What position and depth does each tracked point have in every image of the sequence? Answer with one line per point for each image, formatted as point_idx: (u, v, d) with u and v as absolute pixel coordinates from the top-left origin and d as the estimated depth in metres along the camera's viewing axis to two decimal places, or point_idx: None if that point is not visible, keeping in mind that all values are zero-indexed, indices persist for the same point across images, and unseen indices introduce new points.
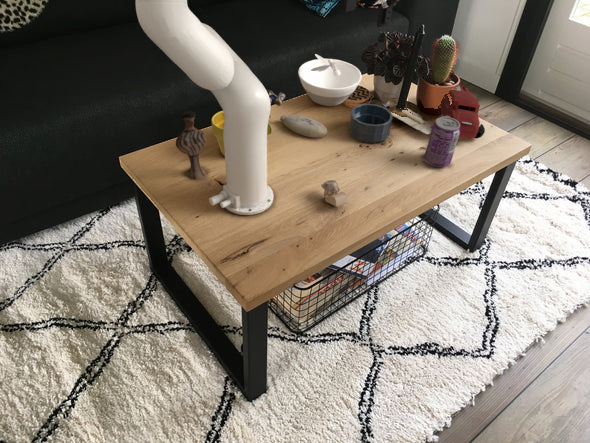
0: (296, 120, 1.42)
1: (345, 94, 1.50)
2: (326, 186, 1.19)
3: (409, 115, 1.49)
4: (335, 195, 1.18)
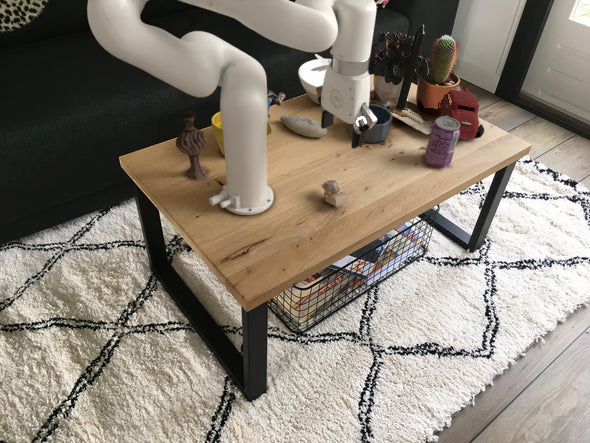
0: (296, 120, 1.42)
1: None
2: (326, 186, 1.19)
3: (409, 115, 1.49)
4: (335, 195, 1.18)
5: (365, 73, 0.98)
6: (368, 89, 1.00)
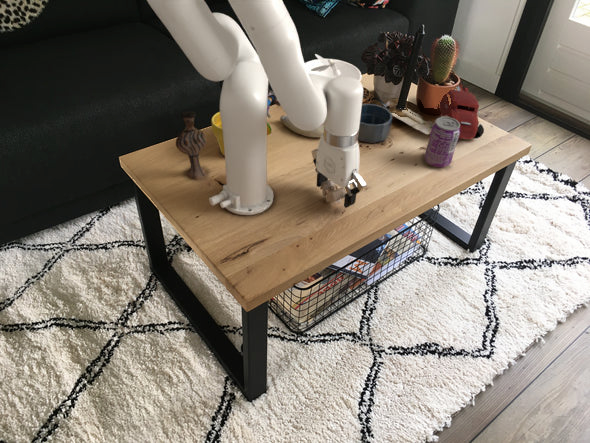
0: None
1: None
2: (323, 185, 1.20)
3: (409, 115, 1.49)
4: (332, 191, 1.18)
5: (355, 144, 1.08)
6: (358, 157, 1.10)
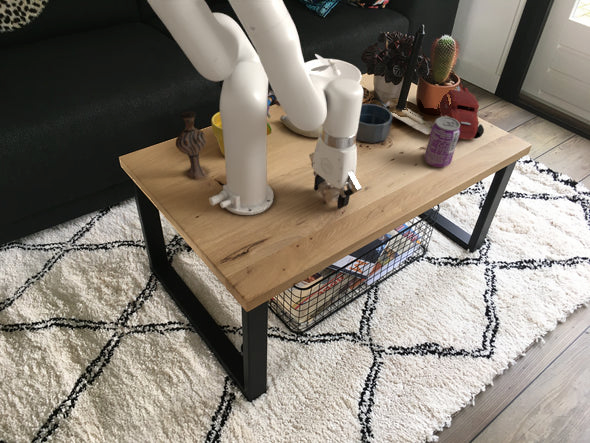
0: None
1: None
2: (319, 186, 1.20)
3: (409, 115, 1.49)
4: (329, 189, 1.18)
5: (352, 146, 1.09)
6: (355, 159, 1.10)
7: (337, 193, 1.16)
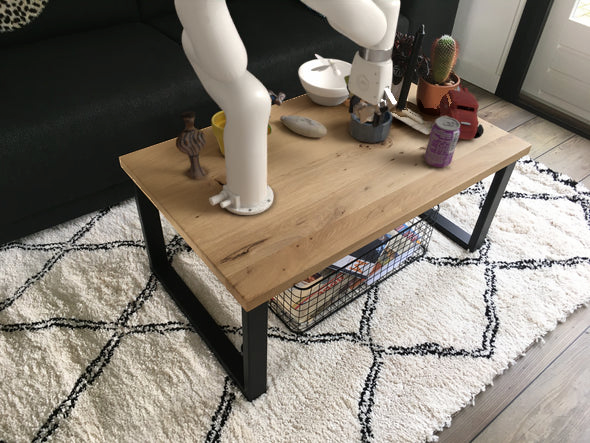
0: (296, 120, 1.42)
1: (345, 94, 1.50)
2: (355, 107, 1.25)
3: (409, 115, 1.49)
4: None
5: (388, 60, 1.13)
6: (391, 74, 1.15)
7: (372, 111, 1.21)
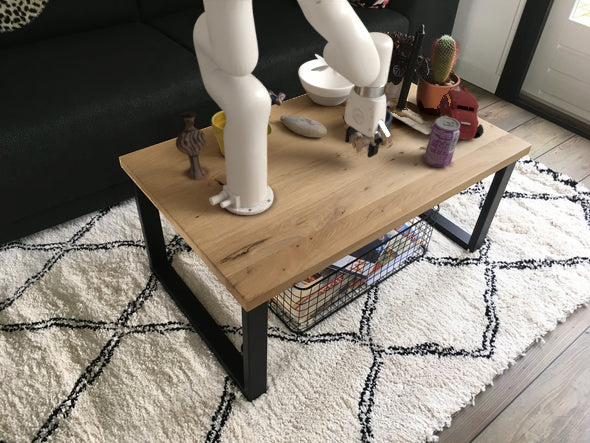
0: (296, 120, 1.42)
1: (345, 94, 1.50)
2: (351, 137, 1.31)
3: (409, 115, 1.49)
4: (360, 138, 1.28)
5: (382, 95, 1.19)
6: (385, 108, 1.21)
7: (368, 142, 1.27)
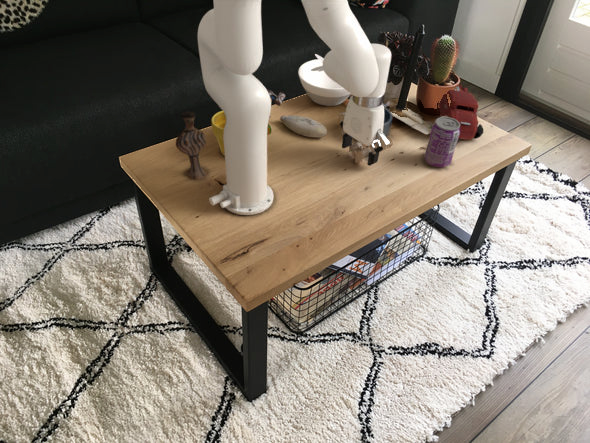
0: (296, 120, 1.42)
1: (345, 94, 1.50)
2: (351, 147, 1.32)
3: (409, 115, 1.49)
4: (360, 150, 1.30)
5: (380, 105, 1.21)
6: (383, 118, 1.23)
7: (368, 155, 1.29)
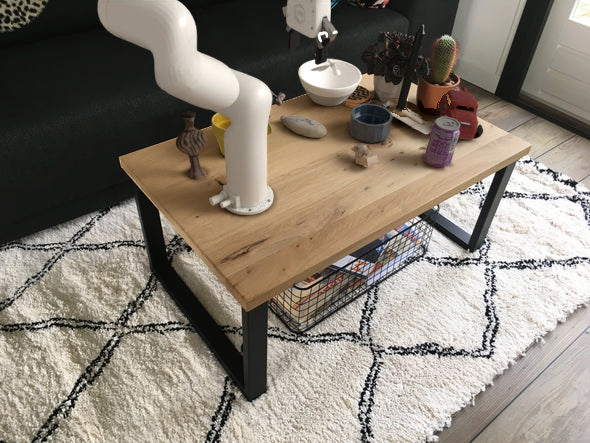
0: (296, 120, 1.42)
1: (345, 94, 1.50)
2: (357, 149, 1.31)
3: (408, 115, 1.49)
4: (366, 156, 1.30)
5: None
6: (329, 2, 1.05)
7: (372, 163, 1.30)
